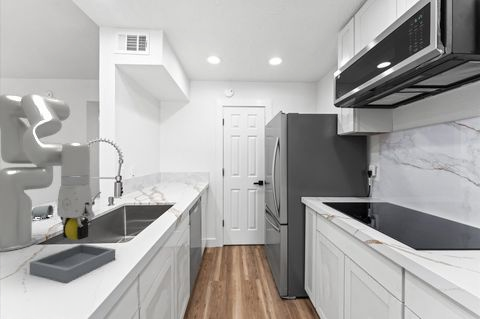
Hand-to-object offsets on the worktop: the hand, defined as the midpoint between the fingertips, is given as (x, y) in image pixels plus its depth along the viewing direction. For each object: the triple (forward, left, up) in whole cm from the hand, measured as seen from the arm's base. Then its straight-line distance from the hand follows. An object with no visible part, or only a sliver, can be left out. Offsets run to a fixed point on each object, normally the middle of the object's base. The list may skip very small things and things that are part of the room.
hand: (75, 236), depth 73 cm
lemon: (0, 0, -1) cm, 1 cm away
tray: (0, 0, -9) cm, 9 cm away
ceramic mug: (-81, +37, -10) cm, 90 cm away
